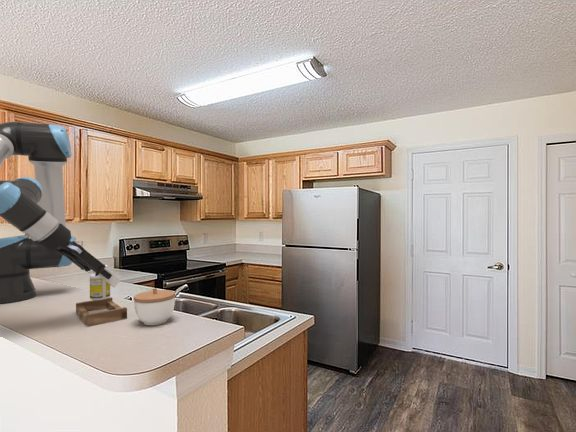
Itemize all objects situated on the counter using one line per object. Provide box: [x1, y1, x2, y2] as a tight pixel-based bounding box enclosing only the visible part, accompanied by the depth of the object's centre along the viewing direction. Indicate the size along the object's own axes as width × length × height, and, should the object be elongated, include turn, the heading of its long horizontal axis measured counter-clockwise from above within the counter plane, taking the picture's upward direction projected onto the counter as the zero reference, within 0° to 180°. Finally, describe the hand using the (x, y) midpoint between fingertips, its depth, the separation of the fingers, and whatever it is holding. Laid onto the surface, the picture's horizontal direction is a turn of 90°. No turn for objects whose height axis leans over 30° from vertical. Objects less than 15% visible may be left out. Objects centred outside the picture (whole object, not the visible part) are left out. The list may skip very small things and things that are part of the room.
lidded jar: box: [133, 287, 176, 326], centre depth 93 cm, size 11×11×9 cm
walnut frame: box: [75, 296, 128, 327], centre depth 101 cm, size 18×10×3 cm, turn 41°
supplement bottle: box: [89, 264, 111, 301], centre depth 100 cm, size 5×5×10 cm
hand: (112, 282), depth 103 cm, fingers closed on supplement bottle, 5 cm apart
